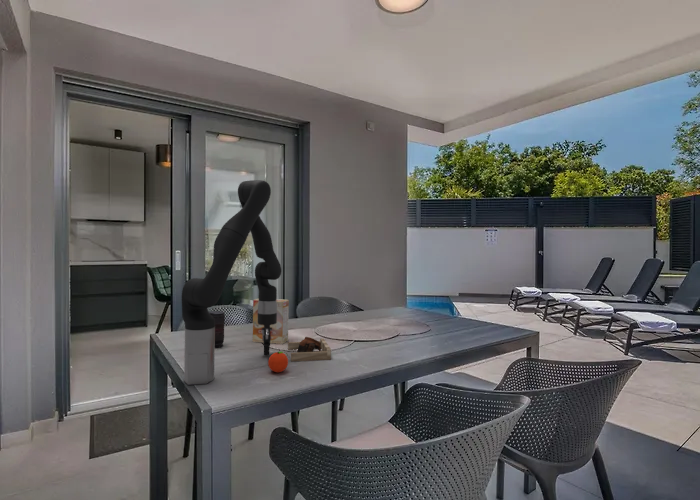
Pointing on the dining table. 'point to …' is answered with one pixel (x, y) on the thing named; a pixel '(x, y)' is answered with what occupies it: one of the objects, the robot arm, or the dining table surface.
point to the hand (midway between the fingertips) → (266, 354)
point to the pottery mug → (309, 345)
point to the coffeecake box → (278, 329)
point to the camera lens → (218, 327)
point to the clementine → (278, 361)
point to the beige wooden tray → (310, 356)
